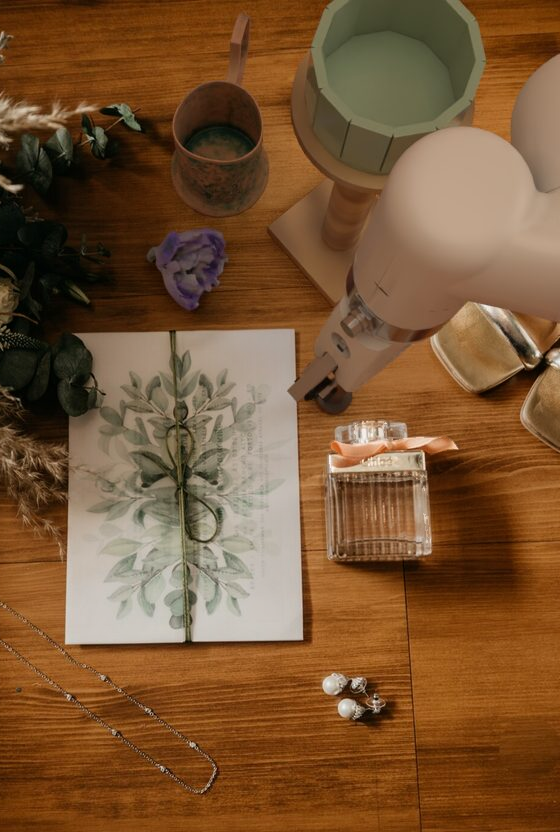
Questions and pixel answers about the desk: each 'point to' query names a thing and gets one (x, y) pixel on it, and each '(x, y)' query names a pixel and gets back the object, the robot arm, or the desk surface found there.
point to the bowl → (390, 76)
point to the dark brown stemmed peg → (336, 402)
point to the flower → (190, 263)
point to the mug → (221, 140)
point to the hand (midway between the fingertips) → (358, 353)
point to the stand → (328, 206)
